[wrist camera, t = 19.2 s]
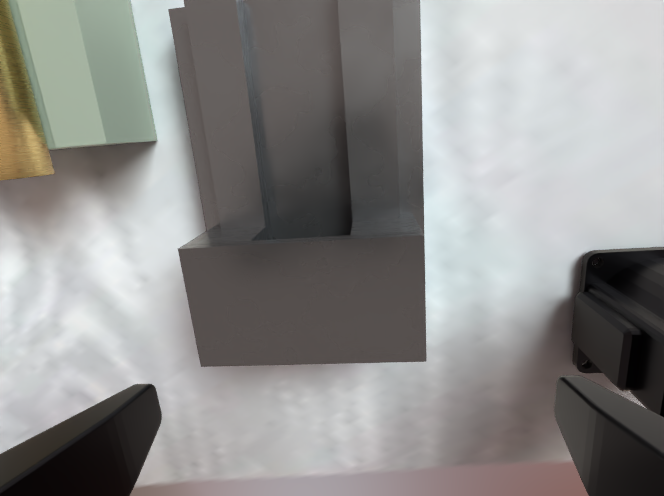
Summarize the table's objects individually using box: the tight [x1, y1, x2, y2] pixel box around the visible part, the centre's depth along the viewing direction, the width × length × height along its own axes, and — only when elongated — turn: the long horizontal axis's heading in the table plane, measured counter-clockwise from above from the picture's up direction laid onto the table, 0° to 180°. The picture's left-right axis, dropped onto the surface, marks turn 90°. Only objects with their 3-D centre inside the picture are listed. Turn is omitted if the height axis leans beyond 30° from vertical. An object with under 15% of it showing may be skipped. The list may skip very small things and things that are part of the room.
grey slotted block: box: [168, 0, 426, 367], centre depth 17 cm, size 10×14×6 cm
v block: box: [8, 0, 157, 150], centre depth 17 cm, size 9×12×4 cm
